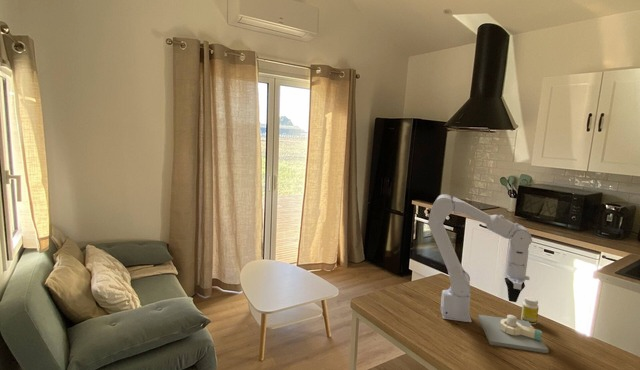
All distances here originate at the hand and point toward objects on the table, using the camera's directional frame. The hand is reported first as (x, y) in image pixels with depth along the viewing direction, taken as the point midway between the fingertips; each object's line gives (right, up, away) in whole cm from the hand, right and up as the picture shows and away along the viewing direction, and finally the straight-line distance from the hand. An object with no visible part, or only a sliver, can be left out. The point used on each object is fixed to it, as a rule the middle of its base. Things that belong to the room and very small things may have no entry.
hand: (512, 300), depth 111 cm
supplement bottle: (+9, -9, +5) cm, 14 cm away
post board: (-2, -10, -3) cm, 11 cm away
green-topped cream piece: (0, -9, -5) cm, 10 cm away
